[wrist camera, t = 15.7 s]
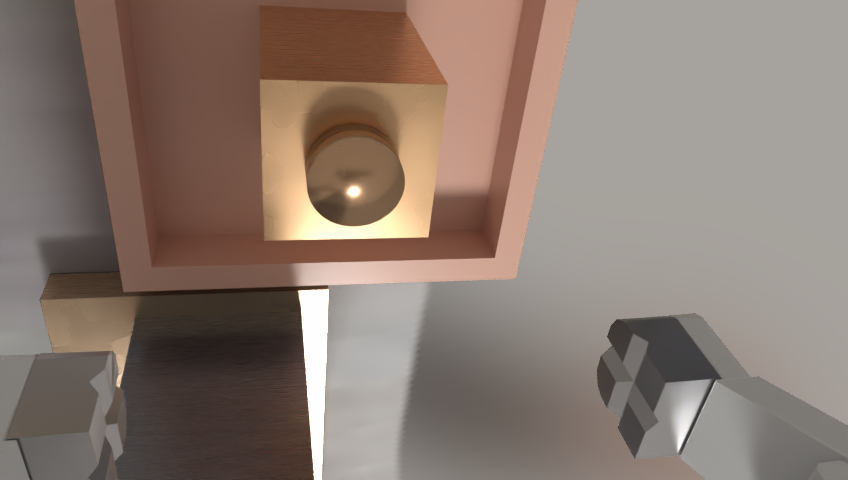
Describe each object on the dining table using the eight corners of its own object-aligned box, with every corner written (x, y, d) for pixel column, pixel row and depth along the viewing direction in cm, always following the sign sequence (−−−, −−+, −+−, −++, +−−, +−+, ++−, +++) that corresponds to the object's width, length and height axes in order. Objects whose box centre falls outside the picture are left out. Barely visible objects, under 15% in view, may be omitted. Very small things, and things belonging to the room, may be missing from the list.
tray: (497, 241, 28) (515, 278, 26) (134, 249, 25) (123, 292, 23) (574, -145, 21) (608, -134, 19) (65, -200, 18) (40, -195, 16)
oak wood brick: (394, 142, 24) (435, 257, 19) (263, 140, 23) (264, 262, 18) (406, 12, 22) (457, 101, 16) (259, 5, 21) (259, 96, 15)
